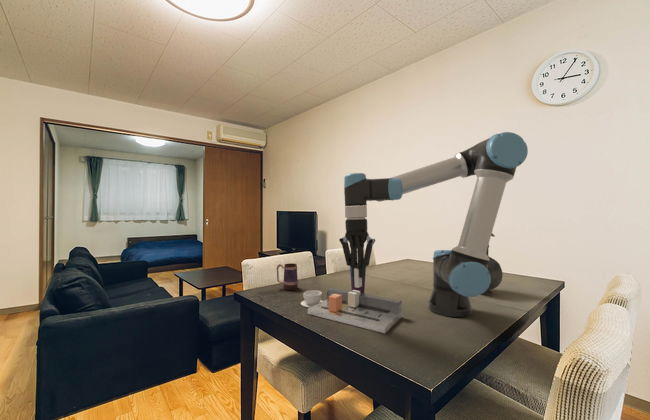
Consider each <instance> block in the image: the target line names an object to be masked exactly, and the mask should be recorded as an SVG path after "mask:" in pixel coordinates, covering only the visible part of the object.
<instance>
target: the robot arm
mask: <svg viewBox="0 0 650 420" xmlns="http://www.w3.org/2000/svg"><path fill="white" fill-rule="evenodd" d="M528 154H529V149H528V145H527V142H526V141H525V140H524V138H523V137H522V136H520V134H517V133H515V132H509V131H503V132H500V133H496V134H493V135H492V136H491V137H489V138H486V139H484V140H482V141H480V142H477V144H475V145H473V146H471V147H469V148H468V149H465V150H463V151H460V152H458V153H455V155H454V156H453V157H450V158H447V159H444V160H441V161H437V162H435V163H432V164H429V165H426V166H423V167H420V168H417V169H414V170H411V171H408V172H405V173H401V174H397V175H395V176H392V177H390V178H389V177H388V178H386V177H384V178H367V175H366V174H365V173H362V172H353V173H347V174H346V175H345V176H344V177H343V179H344V180H343V181H344V182H343V183H344V184H343V190H344V191H343V192H344V193H343V194H344V217H345V218H346V219H345V234H344V236H343V237H342V238H339V242H340V244H341V246H342V250H343V254H344V259H345V264H346V266H348V267H350V266H351V267H352V276H353V277H354V282H355V287H356V288H359V287H361V286H362V277H364V267H366V268H367V267H369V266H370V261H371V256H372V251H373V246H374V244H375V242H376V239H375V238H372V237H370V235H369V232H368V219H367V217H368V208H367V205H368V204H367V202H368V201H369V202H373V201H377V202H383V201H398V200H401V199H402V198H403V195H404V194H408V193H411V192H415V191H417V190H421V189H424V188H427V187H430V186H434V185H437V184H440V183H444V182H447V181H449V180H453V179H456V178H458V177H459V178H463V179H464V178H468V177H471V176H476V181H475V185H474V189H473V190H472V191H473V192H472V194H471V195H472V196H471V199H470V202H469V206H468V210H467V213H466V216H465V221H464V224H463V226H462V227H463V228H462V230H461V235H460V236H459V237H460V239H459V242H458V243H457V244H458V245H456V246H455V247H453V248H451V249H436V250H435V251H434V252H433V257H432V260H433V262H432V266H433V280H432V281H433V283H432V285H433V286H432V287H433V288H432V291H431V293H430V296H429V299H428V309H429V311H431V312H433V313H435V314H437V315H441V316H446V317H452V318H465V317H469V316H471V315H472V310H473V309H472V305H471V301H470V299H469V298H473V297H475V298H476V297H478V296H481V294H482V293H484V292H485V291H486V290H487V289H488V287H489V285H490V282H491V277H490V273H489V271H488V269H487V268H488V264H489V260H490V259H489V258H488V256H489V255H488V256H487V254H486V251H487V248H488V244H489V245H490V240H491V237H492V236H491V234H492V233H493V229H494V226H495V223H496V220H497V218H498V217H497V216H498V214H499V209H500V205H501V202H502V198H503V195H504V192H505V187H506V185H507V183H508V182H510V181H512V180H513V179H514V176H515V174H516V170H517V167H519V166H521V165H522V164H523V163H524V162H525V160H526V159H527V157H528ZM365 243H366V246H365ZM364 249H365V250H364ZM488 249H489V248H488ZM357 263H358V265H357ZM357 266H358V267H357Z"/></svg>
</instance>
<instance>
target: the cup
mask: <svg viewBox="0 0 650 420" xmlns="http://www.w3.org/2000/svg"><path fill="white" fill-rule="evenodd" d="M357 265H358V262H357ZM349 267H350V268H349V271H350V287H351V288H350V289H351V290H350V291H352V290H357V291H360V293H363V294H365V290H366V289H365V286H366V270H367V267H364V277H362V286H361V287H359V288H356V287H355V282H354V277H353V276H352V267H351V266H349ZM357 267H358V266H357Z"/></svg>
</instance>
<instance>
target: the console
mask: <svg viewBox="0 0 650 420" xmlns="http://www.w3.org/2000/svg"><path fill="white" fill-rule="evenodd" d="M350 291H351V290H346V289H339V288H334V287H329V288H327V289H326V299H324V300H322V302H320V303H318V304H316V305H314V306H312V307H307V315H311V316H315V317H318V318H322V319H325V320H326V319H327V320H329V321H334V322H338V323H341V324H346V325H350V326H353V327H357V328H358V327H359V328H361V329H366V330H369V331H373V332H378V333H382V334H386V333H387V332H388V331H390V329H391V328H393V326H394V325H395V324H396V323H398V321H399V320H401V318H402V314H403V313H402V309H403V308H402V306H403V303H402V300H401V299H394V298H390V297H384V296H379V295H374V294H369V293H364V294H363V293H360V295H359V305H358V306H357V307H350V306H348V292H350ZM332 294H339V295H342V309H340V310H339V311H337V312H333V311H329V296H331V295H332Z"/></svg>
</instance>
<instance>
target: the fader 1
mask: <svg viewBox="0 0 650 420" xmlns="http://www.w3.org/2000/svg"><path fill="white" fill-rule="evenodd" d="M340 309H342V295H339V294H332V295H331V296H329V311H333V312H337V311H339V310H340Z"/></svg>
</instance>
